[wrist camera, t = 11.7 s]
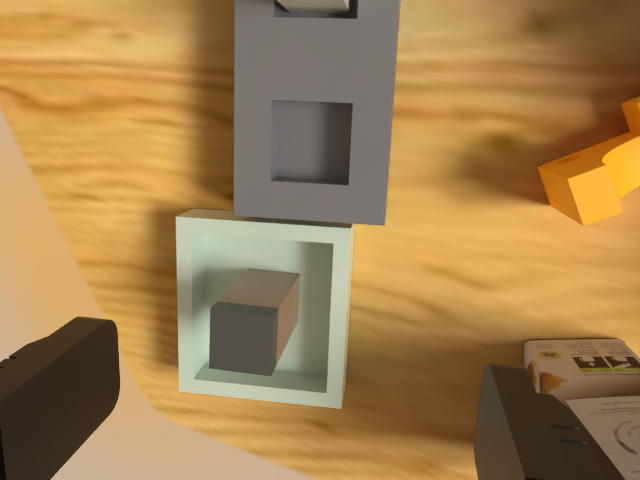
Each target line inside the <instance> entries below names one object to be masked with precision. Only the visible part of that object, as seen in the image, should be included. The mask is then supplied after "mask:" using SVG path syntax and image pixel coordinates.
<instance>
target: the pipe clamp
mask: <svg viewBox="0 0 640 480" xmlns="http://www.w3.org/2000/svg"><path fill="white" fill-rule="evenodd" d="M621 105H622V108H623V112H624V115H625V118H626V121H627V124H628V127H629V130H630V132H628V133H625V134H622V135H620V136H617V137H614V138H612V139H609V140H607V141H604V142H601V143H599V144H596V145H593V146H591V147H588V148H586V149H583V150H580V151H578V152H575V153H572V154H570V155H567V156H565V157H562V158H559V159H557V160H554V161H551V162H549V163H546V164H544V165H541V166H538V167H537V168H538V171H539V174H540V177H541V180H542V183H543V185H544V188H545V191H546V194H547V197H548V200H549V203H550V205H551V206H552V207H554V208H555V209H557V210H558V211H560V212H562V213H563V214H565V215H566V216H568V217H570V218H571V219H573V220H575V221H576V222H578V223H579V224H581V225H583V226H585V225H588V224H591V223H594V222H597V221H599V220H602V219H605V218H608V217H611V216H614V215H617V214H619V213H622V209H621V206H620V203H619V200H620V199H621V198H622V197H623V196H624V195H626V194H627V193H628V192H630V191H631V190H633V189H635V188H637V187H638V186H640V96H639V97H636V98H634V99H631V100H629V101H626V102H624V103H621Z"/></svg>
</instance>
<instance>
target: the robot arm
mask: <svg viewBox="0 0 640 480" xmlns="http://www.w3.org/2000/svg"><path fill="white" fill-rule="evenodd" d="M119 390H120V373H119V352H118V333H117V327H116V324H115V323H114V322H113V321H112V320H106V319H97V318H88V317H76V318H74V319H73V320H71V321H70V322H68V323H67V324H65V325H64V326H63V327H61V328H60V329H58V330H57V331H55V332H54V333H52V334H51V335H50V336H48V337H45V338H43V339H40V340H37V341H35V342H32V343H29V344H27V345H25V346H24V347H22V348H21V349H19V350H18V351H16V352H15V353H13V354H12V355H11V356H9V359H4V360H3V361H2V362H0V480H50V479H51V478H52V477H53V476H54V475H55V474H56V473H57V472H58V470H59V469H60V468H61V467H62V466H63V465H64V464H65V463H66V462H67V461H68V460H69V458H70V457H71V456H72V455H73V454H74V453H75V452H76V451H77V450H78V449H79V448H80V446H81V445H82V444H83V443H84V442H85V441H86V440H87V439H88V438H89V437H90V435H91V434H92V433H93V432H94V431H95V430H96V429H97V428H98V427H99V426H100V425H101V423H102V422H103V421H104V420H105V419H106V418H107V417H108V416H109V415H110V413H111V412H112V411H113V409H114V407H115V405H116V403H117V400H118V396H119ZM474 454H475V464H476V469H477V474H478V480H607V478H606V476H605V474H604V472H603V470H602V468H601V467H600V465H599V463H598V461H597V459H596V457H595V455H594V453H593V451H592V449H591V448H590V446H588V442H587V440H586V438H585V436H584V434H583V432H582V431H580V427H579V425H578V423H577V421H576V419H575V417H574V415H573V413H572V411H571V410H570V409H569V408H567V407H566V406H565V405H564V404H563V403H561V402H560V401H559V400H558V399H557V398H556V397H554V396H553V395H550V394H542V393H537V392H536V389H535V387H534V385H533V383H532V380H531V378H530V376H529V374H528V371H527V369H526V368H525V367H520V366H511V365H502V364H493V363H487V364H486V366H485V369H484V374H483V380H482V387H481V394H480V401H479V408H478V415H477V422H476V429H475V441H474Z"/></svg>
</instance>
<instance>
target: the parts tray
mask: <svg viewBox="0 0 640 480" xmlns="http://www.w3.org/2000/svg"><path fill="white" fill-rule="evenodd" d="M354 226H355V224H354V223H339V222H323V221H308V220H293V219H278V218H263V217H248V216H234V211H225V210H209V209H194V208H193V209H191V210H189V211H187V212H185V213H183V214H180V215H178V216H176V258H177V308H178V358H179V391H181V392H190V393H199V394H208V395H218V396H227V397H236V398H245V399H254V400H264V401H273V402H282V403H291V404H300V405H310V406H319V407H328V408H337V409H341V407H342V402H343V397H344V392H345V387H346V371H347V353H348V335H349V317H350V298H351V280H352V262H353V244H354ZM249 268H252V269H261V270H271V271H280V272H290V273H299V274H300V286H299V303H298V319H297V324H296V326H295V328H294V330H293V332H292V335H291V337H290V339H289V341H288V343H287V345H286V347H285V349H284V351H283V353H282V355H281V357H280V359H279V361H278V363H277V365H276V367H275V369H274V372H273V374H272V376H264V375H256V374H248V373H240V372H233V371H225V370H217V369H209V345H210V308H211V307H212V306H213V305H214V304H215V303H216V302H217V301H218V300H219V299H220V298H221V297H222V296H223V295H224V294H225V293H226V292H227V291H228V290H229V289H230V288H231V287H232V286H233V285H234V284H235V282H236V281H237V280H238V279H239V278H240V277H241V276H242V275H243V274H244V273H245V272H246V271H247V270H248V269H249Z"/></svg>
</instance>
